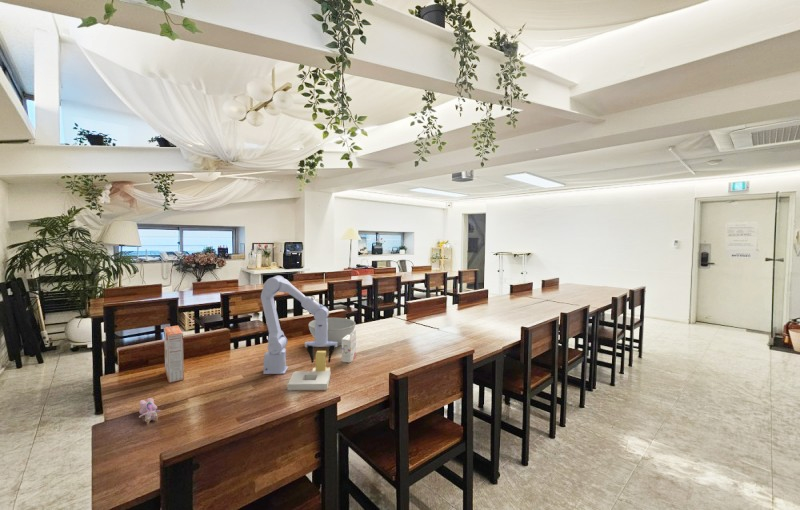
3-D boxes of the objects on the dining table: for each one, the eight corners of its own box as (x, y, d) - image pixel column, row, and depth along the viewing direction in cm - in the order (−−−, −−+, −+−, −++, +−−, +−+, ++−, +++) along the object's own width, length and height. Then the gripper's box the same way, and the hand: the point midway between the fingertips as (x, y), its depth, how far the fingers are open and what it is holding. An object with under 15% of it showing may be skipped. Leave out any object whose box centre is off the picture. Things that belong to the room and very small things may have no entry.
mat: (310, 375, 157) (310, 374, 157) (313, 368, 165) (313, 367, 165) (328, 375, 158) (328, 374, 158) (330, 368, 166) (330, 367, 166)
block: (315, 373, 159) (315, 353, 158) (316, 369, 163) (317, 350, 162) (324, 373, 159) (325, 353, 158) (325, 369, 163) (326, 350, 163)
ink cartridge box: (346, 356, 183) (347, 328, 182) (355, 356, 182) (356, 329, 181) (341, 361, 174) (341, 333, 173) (350, 362, 173) (350, 334, 172)
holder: (287, 390, 142) (287, 384, 142) (294, 376, 155) (294, 371, 155) (327, 389, 143) (327, 383, 143) (330, 376, 156) (330, 371, 156)
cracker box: (164, 372, 156) (163, 326, 154) (179, 369, 159) (179, 324, 158) (167, 383, 145) (166, 334, 143) (184, 380, 148) (183, 332, 147)
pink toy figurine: (163, 424, 118) (155, 401, 128) (164, 408, 117) (155, 386, 127) (141, 431, 113) (134, 406, 124) (141, 414, 112) (134, 391, 123)
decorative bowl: (318, 335, 217) (318, 316, 216) (360, 338, 213) (360, 319, 212) (300, 349, 190) (300, 327, 189) (347, 353, 187) (348, 331, 186)
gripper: (303, 335, 155) (303, 365, 156) (336, 335, 157) (336, 365, 158) (306, 331, 163) (306, 359, 163) (337, 331, 164) (337, 359, 165)
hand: (321, 361), depth 161 cm, fingers open, 7 cm apart
